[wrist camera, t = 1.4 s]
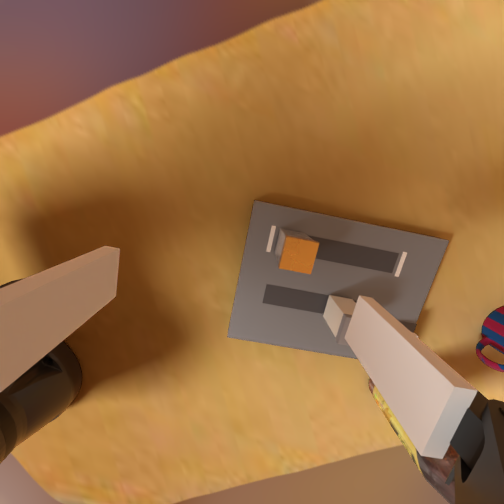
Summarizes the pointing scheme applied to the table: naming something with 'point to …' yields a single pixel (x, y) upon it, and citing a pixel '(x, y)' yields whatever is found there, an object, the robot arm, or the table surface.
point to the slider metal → (295, 251)
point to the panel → (327, 277)
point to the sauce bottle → (428, 466)
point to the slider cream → (339, 316)
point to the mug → (492, 337)
